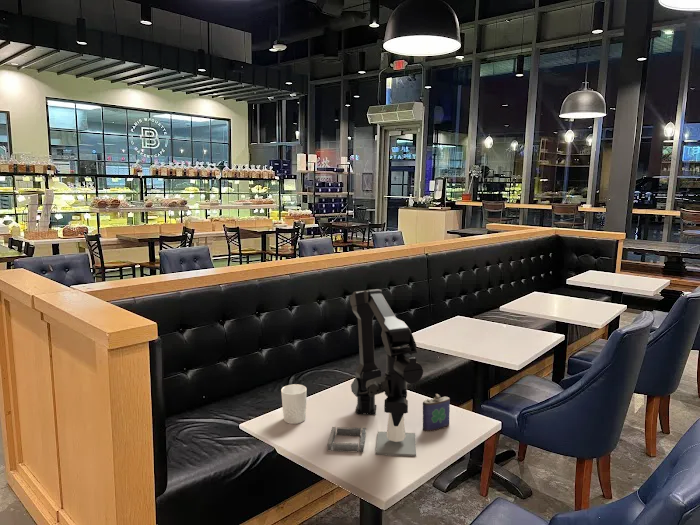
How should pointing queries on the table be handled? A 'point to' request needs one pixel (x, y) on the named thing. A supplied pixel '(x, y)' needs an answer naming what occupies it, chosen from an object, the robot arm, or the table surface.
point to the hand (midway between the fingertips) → (396, 422)
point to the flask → (436, 413)
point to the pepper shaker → (395, 430)
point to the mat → (396, 445)
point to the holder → (346, 445)
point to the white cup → (294, 403)
